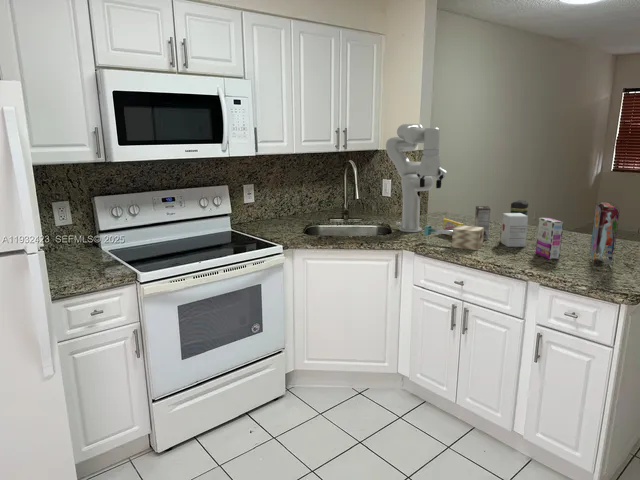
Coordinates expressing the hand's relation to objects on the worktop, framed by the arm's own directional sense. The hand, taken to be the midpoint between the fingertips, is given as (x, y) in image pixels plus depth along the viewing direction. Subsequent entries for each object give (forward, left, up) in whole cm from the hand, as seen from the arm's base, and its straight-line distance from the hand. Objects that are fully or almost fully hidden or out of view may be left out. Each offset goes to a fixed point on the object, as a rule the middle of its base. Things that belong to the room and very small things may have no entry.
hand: (430, 187), depth 229 cm
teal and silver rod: (+10, -6, -23) cm, 26 cm away
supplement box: (+40, +8, -27) cm, 49 cm away
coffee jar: (+38, +30, -27) cm, 55 cm away
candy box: (+9, +13, -27) cm, 31 cm away
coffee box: (+23, +16, -27) cm, 39 cm away
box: (+76, -5, -27) cm, 81 cm away
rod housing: (+22, -6, -27) cm, 35 cm away
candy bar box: (+57, -7, -27) cm, 63 cm away
